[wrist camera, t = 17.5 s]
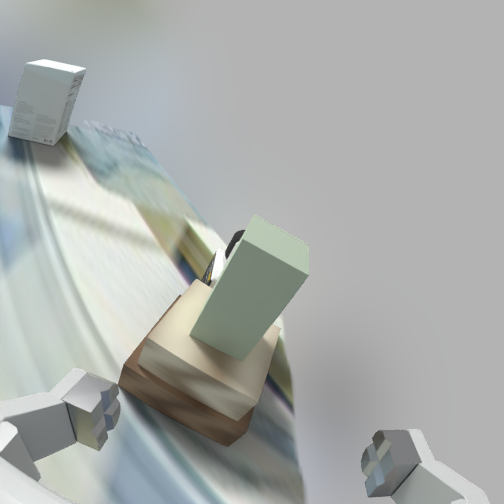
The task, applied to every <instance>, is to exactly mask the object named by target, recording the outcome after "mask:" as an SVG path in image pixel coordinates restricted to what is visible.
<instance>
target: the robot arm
mask: <svg viewBox="0 0 504 504" xmlns="http://www.w3.org/2000/svg"><path fill="white" fill-rule="evenodd" d="M118 394H119V388H118V385H117V384H116V383H114V382H111V381H109V380H106V379H104V378H101V377H99V376H96V375H94V374H92V373H88V372H86V371H84V370H82V369H80V368H73V369H72V370H71V371H70V372H69V373H68V374H67V375H66V376H65V377H64V378H63V379H62V380H61V381H60V382H59V383H58V384H57V385H56V386H55V387H54V388H53V389H52V390H51V391H50V392H49V393H47V392H40V393H36V394H32V395H28V396H23V397H19V398H14V399H10V400H5V401H0V504H76V503H74V502H72V501H71V500H69V499H67V498H65V497H63V496H61V495H59V494H58V493H56V492H54V491H52V490H50V489H49V488H47V487H45V486H44V485H42V484H40V483H39V482H38V481H39V479H40V478H41V476H40V473H39V471H38V469H37V468H36V466H35V464H34V462H35V461H37V460H39V459H42V458H44V457H46V456H48V455H51V454H53V453H55V452H57V451H60V450H62V449H64V448H66V447H68V446H70V445H72V444H75V443H76V441H77V442H79V443H81V444H84V445H86V446H88V447H91V448H93V449H95V450H98V451H100V450H101V448H102V447H103V445H104V443H105V442H106V440H107V439H108V434H107V431H109V430H112V429H114V428H115V426H116V424H117V422H118V419H119V416H120V402H119V401H118V400H117V398H116V397H117V395H118ZM372 439H373V443H372V444H371V445H370V446H368V447H367V448H366V449H365V451H364V453H363V455H362V459H361V468H362V472H363V474H365V475H366V476H367V477H368V478H367V480H366V481H365V486H366V491H367V495H368V497H383V496H391V498H392V499H393V500H394V501H395V503H396V504H490V503H489V501H488V498H487V497H486V495H485V493H484V491H483V490H481V489H480V488H478V487H477V486H475V485H474V484H472V483H471V482H469V481H468V480H466V479H465V478H463V477H462V476H460V475H459V474H457V473H456V472H454V471H453V470H451V469H450V468H448V467H447V466H446V465H444V464H442V463H441V462H440V461H435V459H434V457H433V455H432V453H431V451H430V449H429V447H428V444H427V443H426V440H425V438H424V436H423V434H422V432H421V431H420V430H419V429H410V430H409V429H408V430H379V431H377V432H376V433H375V435H374V436H373V438H372Z"/></svg>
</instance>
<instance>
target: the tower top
mask: <svg viewBox="0 0 504 504" xmlns="http://www.w3.org/2000/svg"><path fill="white" fill-rule="evenodd" d="M211 291H212V288H211V287H209V286H207V285H206V284H204V283H203V282H201V281H199V280H198V279H196V280H195V281H194V282H193V283H192V284H191V286H190V287H189V288H188V289H187V290H186V291H185V293H184V294H183V295H182V296H181V297H180V298H179V300H178V301H177V302H176V303H175V304H174V306H173V307H172V308H171V309H170V310H169V311H168V313H167V314H166V315H165V316H164V317H163V319H162V320H161V321H160V322H159V323H158V324H157V326H156V327H155V328H154V329H153V330H152V332H151V333H150V334H149V335H148V336H147V338H146V341H145V344H144V347H143V349H142V352H141V355H140V357H139V360H138V363H137V364H138V365H140V366H141V367H143V368H144V369H146V370H148V371H149V372H151V373H152V374H154V375H155V376H157V377H158V378H160V379H162V380H163V381H165V382H166V383H168V384H170V385H171V386H173V387H175V388H176V389H178V390H180V391H181V392H183V393H185V394H187V395H188V396H190V397H192V398H194V399H195V400H197V401H199V402H201V403H203V404H204V405H206V406H208V407H210V408H212V409H214V410H216V411H217V412H219V413H221V414H223V415H225V416H227V417H229V418H231V419H233V420H235V421H238V420H240V419H241V418H242V417H243V416H244V415H245V414H246V413H247V412H248V411H249V410H250V409H251V408H253V407H254V406H255V405H256V404H257V403H258V402H259V399H260V396H261V393H262V390H263V386H264V383H265V380H266V377H267V373H268V370H269V367H270V363H271V360H272V357H273V353H274V350H275V347H276V343H277V340H278V336H279V333H280V329H281V328H279V327H277V326H275V325H274V324H272V325H271V326H270V328H269V329H268V330H267V331H266V333H265V334H264V335H263V337H262V338H261V339H260V340H259V342H258V343H257V344H256V345H255V347H254V348H253V349H252V350H251V352H250V353H249V354H248V355H247V357H246V358H245V359H244V360H243V362H242V361H240V360H238V359H236V358H233V357H231V356H229V355H227V354H225V353H223V352H221V351H219V350H217V349H215V348H213V347H211V346H209V345H207V344H205V343H204V342H202V341H200V340H198V339H196V338H194V337H192V336H190V335H189V334H190V332H191V330H192V328H193V326H194V324H195V322H196V320H197V318H198V316H199V314H200V312H201V310H202V308H203V306H204V304H205V302H206V300H207V298H208V296H209V295H210V293H211Z"/></svg>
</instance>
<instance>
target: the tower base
mask: <svg viewBox="0 0 504 504" xmlns="http://www.w3.org/2000/svg"><path fill="white" fill-rule="evenodd" d="M181 296H182V295H179V296H178V297H177V299H176V300H175V301H174V302H173V304H172V305H171V306H170V307H169V308H168V310H167V311H166V312H165V313H164V315H163V316H162V317H161V318H160V319H159V321H158V322H157V323H156V324H155V326H154V327H153V328H152V329H151V331H150V332H149V333H148V334H147V336H148V335H149V334H150V333H151V332H152V330H153V329H154V328H155V327H156V326H157V324H158V323H159V322H160V321H161V320H162V319H163V317H164V316H165V315H166V314H167V313H168V311H169V310H170V309H171V308H172V307H173V306H174V304H175V303H176V302H177V301H178V300H179V298H180V297H181ZM147 336H146V337H145V338H144V339H143V341H142V342H141V343H140V344H139V346H138V347H137V348H136V349H135V351H134V352H133V353H132V354H131V356H130V357H129V358H128V359H127V361H126V362H125V363H124V365H123V369H122V372H121V376H120V379H119V383H118V386H120V387H121V388H123V389H124V390H126V391H127V392H129V393H130V394H132V395H134V396H135V397H137V398H138V399H140V400H141V401H143V402H145V403H146V404H148V405H150V406H151V407H153V408H155V409H156V410H158V411H160V412H161V413H163V414H165V415H166V416H168V417H170V418H172V419H174V420H175V421H177V422H179V423H181V424H183V425H185V426H186V427H188V428H190V429H192V430H194V431H196V432H198V433H200V434H202V435H204V436H206V437H208V438H210V439H212V440H214V441H216V442H218V443H221V444H223V445H225V446H227V447H228V446H229V445H231V444H232V443H233V442H235V441H236V440H237V439H239V438H240V437H241V436H242V435H244V434H245V433H246V432H247V428H248V425H249V422H250V419H251V416H252V412H253V409H254V407H253V408H251V409H250V410H249V411H248V412H247V413H246V414H245V415H244V416H243V417H242V418H241V419H240V420H238V421H235V420H233V419H231V418H229V417H227V416H225V415H223V414H221V413H219V412H217V411H216V410H214V409H212V408H210V407H208V406H206V405H204V404H203V403H201V402H199V401H197V400H195V399H194V398H192V397H190V396H188V395H187V394H185V393H183V392H181V391H180V390H178V389H176V388H175V387H173V386H171V385H170V384H168V383H166V382H165V381H163V380H162V379H160V378H158V377H157V376H155V375H154V374H152V373H151V372H149V371H148V370H146V369H144V368H143V367H141V366H140V365H138V364H137V363H138V360H139V357H140V355H141V352H142V349H143V347H144V344H145V341H146V338H147Z"/></svg>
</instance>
